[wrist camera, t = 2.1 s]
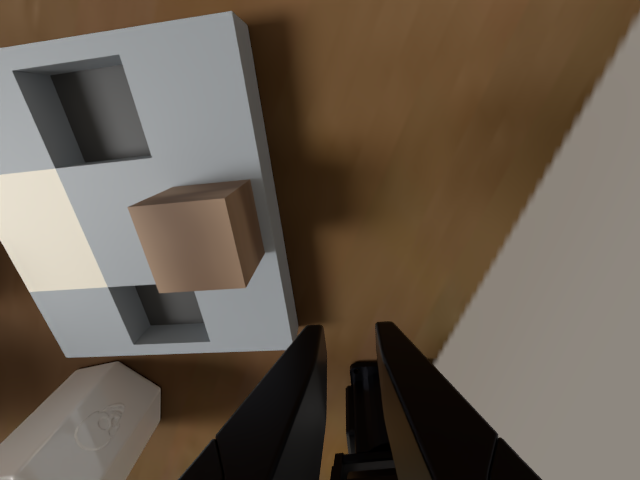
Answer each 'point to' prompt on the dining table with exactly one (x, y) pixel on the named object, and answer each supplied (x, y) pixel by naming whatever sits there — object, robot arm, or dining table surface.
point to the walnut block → (200, 236)
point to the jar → (85, 428)
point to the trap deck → (135, 183)
